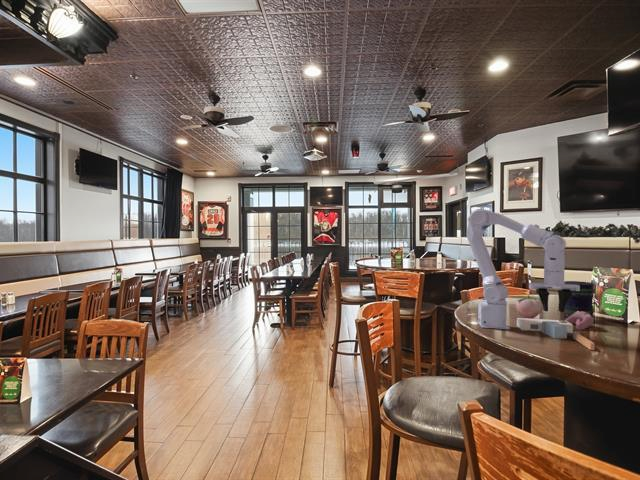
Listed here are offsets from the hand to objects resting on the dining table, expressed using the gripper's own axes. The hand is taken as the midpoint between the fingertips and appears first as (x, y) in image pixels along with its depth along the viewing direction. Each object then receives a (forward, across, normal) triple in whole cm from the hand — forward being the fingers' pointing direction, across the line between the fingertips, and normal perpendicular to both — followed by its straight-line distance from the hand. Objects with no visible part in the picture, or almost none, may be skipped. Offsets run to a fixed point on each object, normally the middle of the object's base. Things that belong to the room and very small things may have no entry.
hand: (553, 311), depth 120 cm
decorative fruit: (+9, -1, +24) cm, 25 cm away
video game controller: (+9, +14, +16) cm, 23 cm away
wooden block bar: (+8, +6, -8) cm, 13 cm away
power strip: (+8, 0, +8) cm, 12 cm away
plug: (+8, +1, +1) cm, 9 cm away
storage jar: (+9, +19, +30) cm, 36 cm away
